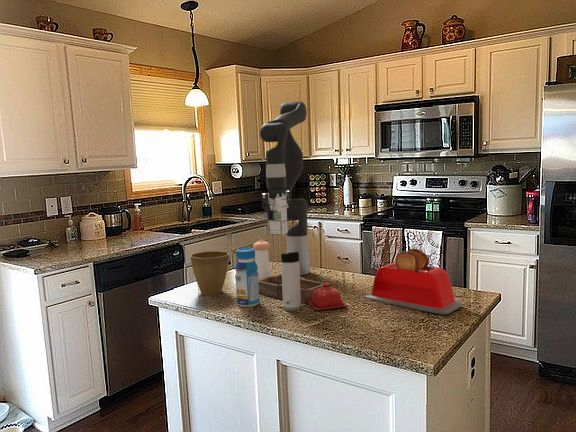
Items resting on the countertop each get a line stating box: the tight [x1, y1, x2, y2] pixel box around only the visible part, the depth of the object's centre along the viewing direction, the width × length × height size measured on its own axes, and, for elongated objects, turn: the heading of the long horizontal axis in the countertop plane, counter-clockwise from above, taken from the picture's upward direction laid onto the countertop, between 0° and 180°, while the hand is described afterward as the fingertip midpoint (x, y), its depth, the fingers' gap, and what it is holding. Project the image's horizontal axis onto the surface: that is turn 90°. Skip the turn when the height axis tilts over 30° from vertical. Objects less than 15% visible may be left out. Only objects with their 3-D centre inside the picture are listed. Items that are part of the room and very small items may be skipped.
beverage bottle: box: [234, 247, 260, 308], centre depth 173 cm, size 8×8×20 cm
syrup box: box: [268, 196, 288, 236], centre depth 186 cm, size 6×6×14 cm
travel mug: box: [280, 252, 302, 312], centre depth 166 cm, size 6×7×20 cm
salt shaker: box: [252, 239, 272, 280], centre depth 199 cm, size 7×7×19 cm
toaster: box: [364, 247, 464, 316], centre depth 167 cm, size 32×13×19 cm, turn 46°
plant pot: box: [189, 250, 230, 297], centre depth 189 cm, size 15×15×16 cm
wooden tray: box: [258, 273, 324, 305], centre depth 185 cm, size 15×26×5 cm, turn 45°
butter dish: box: [307, 282, 347, 311], centre depth 168 cm, size 12×12×8 cm
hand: (277, 218), depth 187 cm, fingers closed on syrup box, 7 cm apart
